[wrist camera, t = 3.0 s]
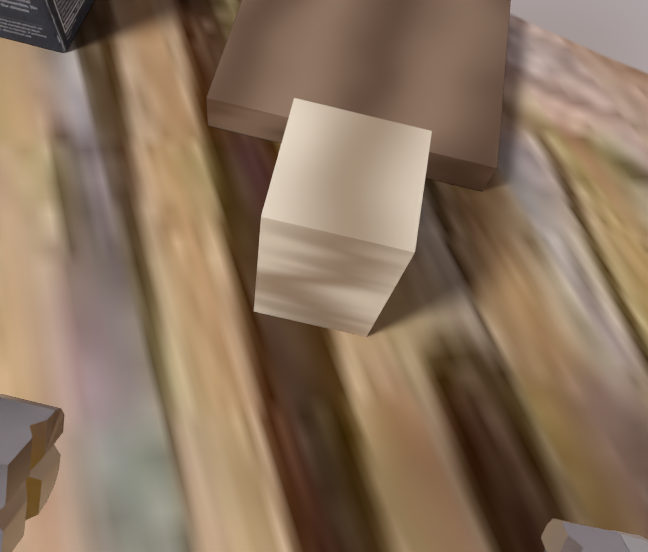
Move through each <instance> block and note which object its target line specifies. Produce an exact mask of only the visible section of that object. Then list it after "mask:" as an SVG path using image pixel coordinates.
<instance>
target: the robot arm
mask: <svg viewBox="0 0 648 552" xmlns="http://www.w3.org/2000/svg"><path fill="white" fill-rule="evenodd" d="M63 425H64V413H63V411H62V409H61V408H57V407H53V406H49V405H45V404H41V403H37V402H32V401H28V400H24V399H20V398H16V397H12V396H8V395H4V394H0V552H12V551H13V550H14V548H15V547H16V545H17V544H18V543H19V541H20V540H21V538H22V537H23V535H24V528H25V520H27V519H29V518H31V517H33V516H36V515H38V514H39V512H40V511H41V509H42V508H43V506H44V505H45V503H46V502H47V500H48V498H49V496H50V493H51V491H52V489H53V487H54V484H55V481H56V478H57V474H58V470H59V463H60V454H59V452H58V450H57V449H56V447H55V445H54V443H55V442H56V440H57V439H58V438H59V436H60V435H61V434H62V433H63ZM541 539H542V542H543V545H544V547H545V550H544V551H543V552H648V540H647V539H646V538H644V537H643V536H641V535H636V534H630V533H625V532H620V531H615V530H612V531H610V530H605V529H601V528H596V527H591V526H586V525H582V524H577V523H572V522H567V521H563V520H558V519H552V520H551V521H550V522H549V523H548V524H547V525H546V527H545V529H544V532H543V534H542V536H541Z"/></svg>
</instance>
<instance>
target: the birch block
mask: <svg viewBox="0 0 648 552" xmlns="http://www.w3.org/2000/svg"><path fill="white" fill-rule="evenodd" d="M431 134H432V131H430V130H426V129H421V128H417V127H413V126H409V125H405V124H401V123H397V122H392V121H388V120H384V119H380V118H376V117H372V116H367V115H363V114H359V113H355V112H351V111H347V110H343V109H338V108H334V107H330V106H326V105H322V104H318V103H313V102H309V101H305V100H301V99H297V98H294V100H293V104H292V107H291V111H290V115H289V118H288V122H287V125H286V129H285V133H284V136H283V140H282V143H281V147H280V151H279V154H278V158H277V161H276V165H275V169H274V172H273V176H272V179H271V183H270V187H269V190H268V194H267V197H266V201H265V205H264V208H263V212H262V215H261V226H260V239H259V252H258V265H257V278H256V291H255V304H254V311H255V312H259V313H263V314H268V315H272V316H277V317H281V318H285V319H290V320H294V321H299V322H303V323H307V324H312V325H316V326H320V327H325V328H329V329H334V330H338V331H342V332H347V333H351V334H355V335H360V336H364V337H367V335H368V333H369V332H370V330H371V328H372V326H373V325H374V323H375V321H376V319H377V318H378V316H379V314H380V313H381V311H382V309H383V307H384V306H385V304H386V302H387V300H388V299H389V297H390V295H391V293H392V292H393V290H394V288H395V286H396V285H397V283H398V281H399V279H400V278H401V276H402V274H403V272H404V271H405V269H406V267H407V265H408V264H409V262H410V260H411V258H412V257H413V255H414V253H415V248H416V241H417V234H418V227H419V220H420V212H421V205H422V198H423V191H424V184H425V177H426V170H427V163H428V155H429V148H430V141H431Z"/></svg>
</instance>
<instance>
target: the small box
mask: <svg viewBox="0 0 648 552" xmlns="http://www.w3.org/2000/svg"><path fill="white" fill-rule="evenodd" d="M93 2H94V0H0V37H3V38H7V39H11V40H15V41H18V42H23V43H27V44H30V45H35V46H38V47H42V48H46V49H50V50H54V51H58V52H65V51H66V50H67V49H68V47H69V45H70V43H71V42H72V40H73V38H74V36H75V35H76V33H77V31H78V29H79V27H80V26H81V24H82V22H83V20H84V18H85V17H86V15H87V13H88V11H89V9H90V7H91V6H92V3H93Z"/></svg>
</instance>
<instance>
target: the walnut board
mask: <svg viewBox="0 0 648 552" xmlns="http://www.w3.org/2000/svg"><path fill="white" fill-rule="evenodd" d="M510 1H511V0H242V2H241V4H240V7H239V10H238V13H237V15H236V18H235V21H234V24H233V26H232V29H231V32H230V35H229V37H228V40H227V43H226V46H225V48H224V51H223V54H222V57H221V59H220V62H219V65H218V68H217V70H216V73H215V76H214V79H213V81H212V84H211V87H210V90H209V93H208V95H207V114H208V126H212V127H216V128H220V129H225V130H229V131H233V132H237V133H241V134H245V135H250V136H254V137H258V138H262V139H266V140H270V141H275V142H279V143H282V140H283V136H284V133H285V129H286V125H287V122H288V118H289V115H290V111H291V107H292V104H293V100H294V98H297V99H301V100H305V101H309V102H313V103H318V104H322V105H326V106H330V107H334V108H338V109H343V110H347V111H351V112H355V113H359V114H363V115H367V116H372V117H376V118H380V119H384V120H388V121H392V122H397V123H401V124H405V125H409V126H413V127H417V128H421V129H426V130H430V131H432V134H431V141H430V148H429V155H428V163H427V170H426V177H425V178H429V179H433V180H437V181H441V182H445V183H449V184H453V185H458V186H462V187H466V188H470V189H474V190H478V191H483V189H484V188H485V186H486V185H487V183H488V182H489V180H490V178H491V177H492V175H493V174H494V172H495V171H496V169H497V166H498V153H499V141H500V128H501V115H502V103H503V90H504V77H505V65H506V52H507V39H508V27H509V14H510Z"/></svg>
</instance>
